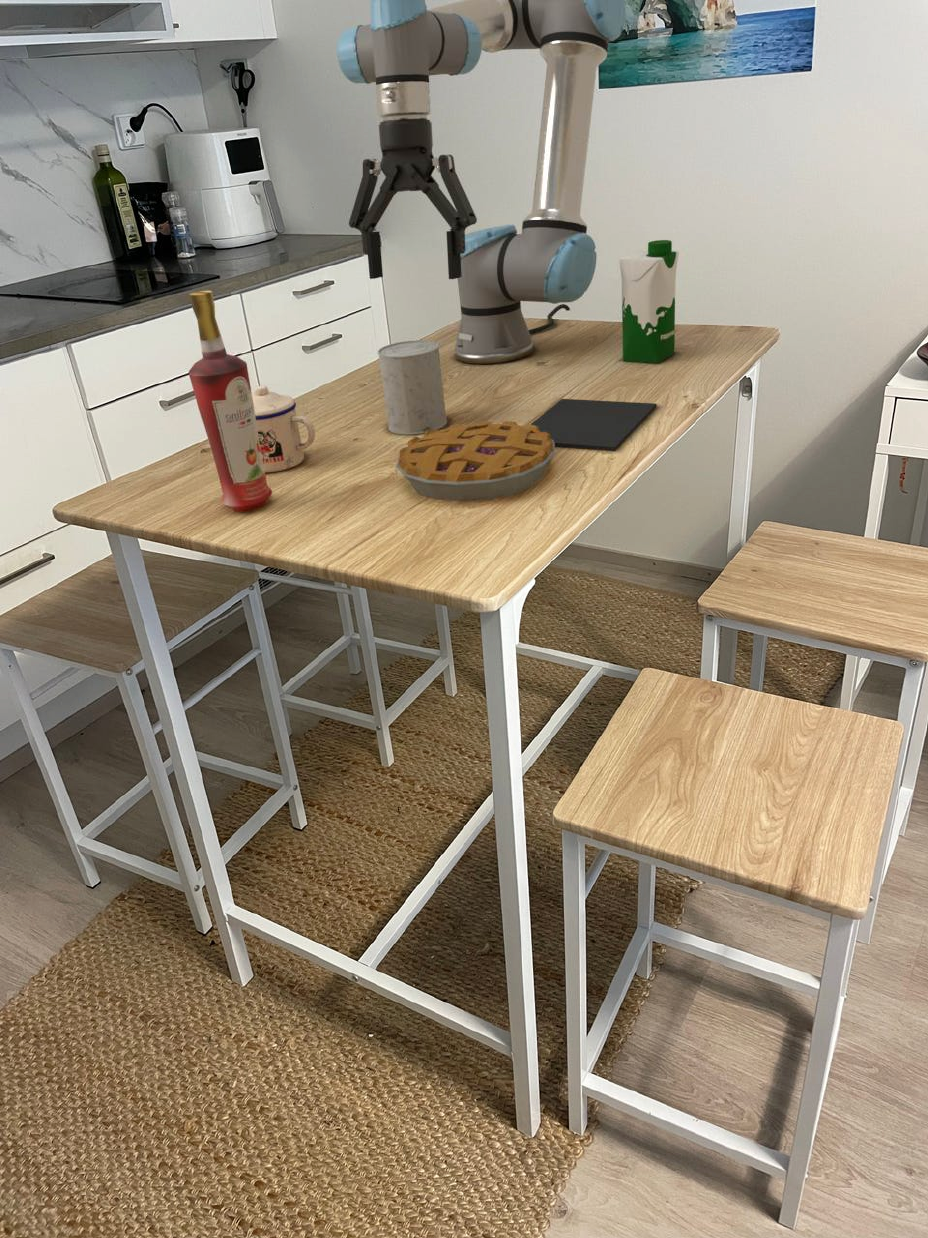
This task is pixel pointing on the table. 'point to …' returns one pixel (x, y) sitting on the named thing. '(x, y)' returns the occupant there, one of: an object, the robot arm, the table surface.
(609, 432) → the back mat
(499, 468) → the pie
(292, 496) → the table surface
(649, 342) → the milk carton
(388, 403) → the tin can
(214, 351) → the liquor
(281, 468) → the teacup with lid
